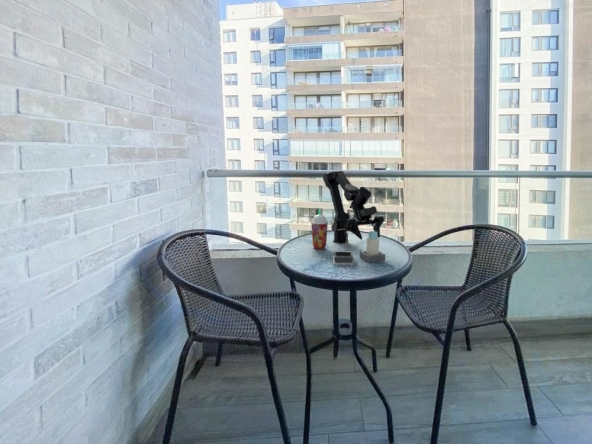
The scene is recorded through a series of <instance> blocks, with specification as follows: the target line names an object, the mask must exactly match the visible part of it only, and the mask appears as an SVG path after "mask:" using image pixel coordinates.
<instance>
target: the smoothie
mask: <svg viewBox="0 0 592 444" xmlns="http://www.w3.org/2000/svg"><path fill="white" fill-rule="evenodd" d="M328 223H329V221H328V220H327V217H326V216H325V215H323V214H321V208H319V209H318V214H316V215H314V216H313V218H312V219H311V222H310V224H311V235H312V237H311V238H312V239H311V240H312V247H313V249H315V250H324V249H325V248H326V246H327V237H328Z"/></svg>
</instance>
